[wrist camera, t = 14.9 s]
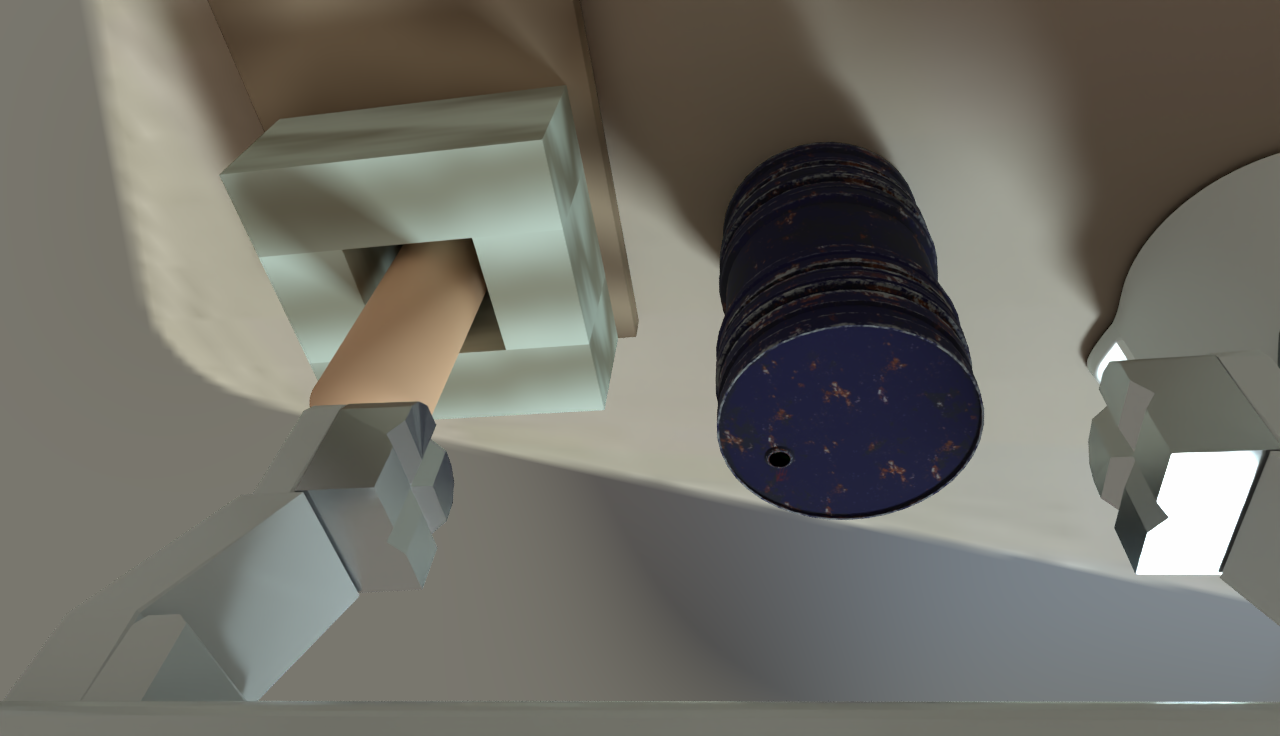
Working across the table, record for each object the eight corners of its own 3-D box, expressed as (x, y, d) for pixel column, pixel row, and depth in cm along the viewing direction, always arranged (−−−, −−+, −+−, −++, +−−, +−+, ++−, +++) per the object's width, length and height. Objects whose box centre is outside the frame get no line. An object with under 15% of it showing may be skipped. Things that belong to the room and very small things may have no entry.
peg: (522, 242, 44) (447, 425, 33) (465, 287, 46) (377, 474, 35) (457, 179, 42) (355, 352, 31) (401, 229, 44) (287, 408, 33)
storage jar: (864, 99, 39) (916, 273, 28) (953, 257, 44) (1031, 464, 32) (682, 207, 43) (661, 397, 32) (781, 341, 48) (794, 551, 36)
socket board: (638, 321, 48) (624, 409, 42) (369, 340, 51) (321, 425, 45) (545, -185, 34) (504, -158, 28) (177, -121, 36) (67, -85, 30)
